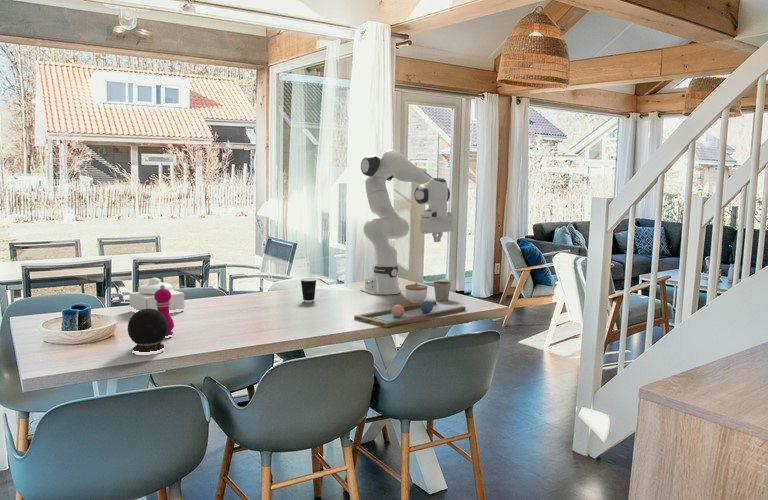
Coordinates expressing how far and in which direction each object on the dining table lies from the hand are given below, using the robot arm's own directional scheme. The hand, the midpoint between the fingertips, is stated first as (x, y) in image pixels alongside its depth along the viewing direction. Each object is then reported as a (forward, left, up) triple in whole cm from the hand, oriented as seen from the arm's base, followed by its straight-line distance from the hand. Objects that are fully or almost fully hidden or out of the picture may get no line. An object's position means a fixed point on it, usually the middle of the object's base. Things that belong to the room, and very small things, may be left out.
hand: (437, 242), depth 299 cm
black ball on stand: (-11, -134, -30) cm, 138 cm away
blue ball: (+11, -18, -27) cm, 34 cm away
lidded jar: (-10, -3, -30) cm, 32 cm away
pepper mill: (-26, -122, -30) cm, 129 cm away
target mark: (+9, -35, -30) cm, 47 cm away
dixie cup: (-46, -41, -30) cm, 69 cm away
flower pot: (-5, +10, -30) cm, 32 cm away
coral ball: (+8, -33, -27) cm, 44 cm away
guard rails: (+9, -24, -30) cm, 39 cm away
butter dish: (-72, -106, -30) cm, 132 cm away
